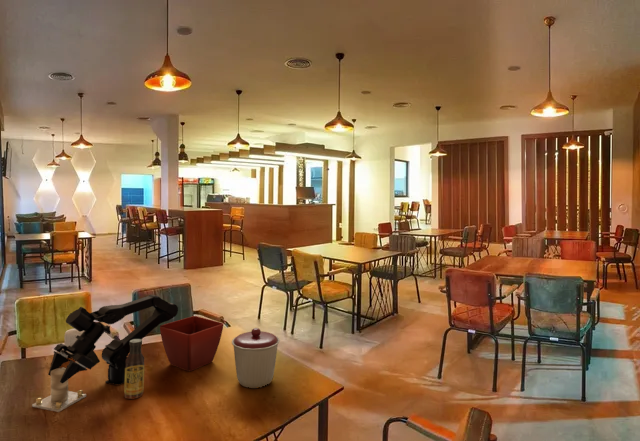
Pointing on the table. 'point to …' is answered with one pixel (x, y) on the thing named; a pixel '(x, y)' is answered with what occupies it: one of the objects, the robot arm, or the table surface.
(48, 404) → the base plate
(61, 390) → the maple peg
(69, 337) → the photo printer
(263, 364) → the canister
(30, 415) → the table surface
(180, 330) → the plant pot
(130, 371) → the sauce bottle
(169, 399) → the table surface
